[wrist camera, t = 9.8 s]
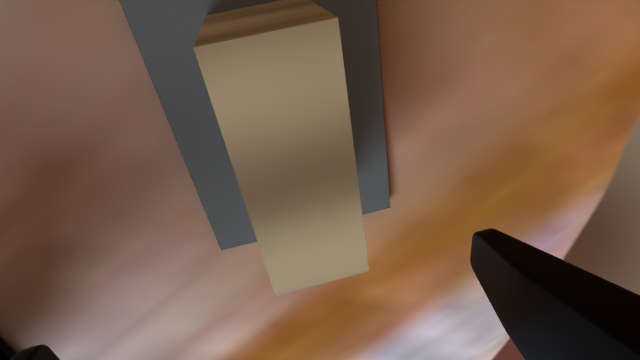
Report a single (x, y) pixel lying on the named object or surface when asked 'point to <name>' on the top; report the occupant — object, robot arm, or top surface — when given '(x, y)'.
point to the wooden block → (288, 136)
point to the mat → (200, 120)
